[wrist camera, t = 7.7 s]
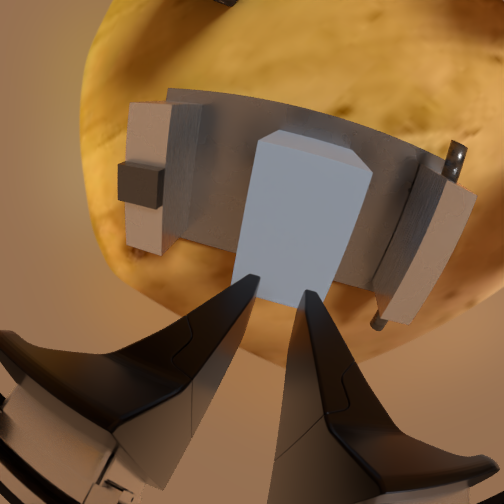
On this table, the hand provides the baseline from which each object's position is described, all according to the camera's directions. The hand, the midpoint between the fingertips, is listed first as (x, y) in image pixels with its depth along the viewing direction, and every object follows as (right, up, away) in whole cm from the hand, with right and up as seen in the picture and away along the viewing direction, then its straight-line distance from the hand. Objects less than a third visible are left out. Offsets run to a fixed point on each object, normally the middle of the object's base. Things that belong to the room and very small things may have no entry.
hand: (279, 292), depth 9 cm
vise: (+3, +6, +10) cm, 12 cm away
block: (+2, +5, +9) cm, 11 cm away
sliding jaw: (+11, +3, +8) cm, 14 cm away
